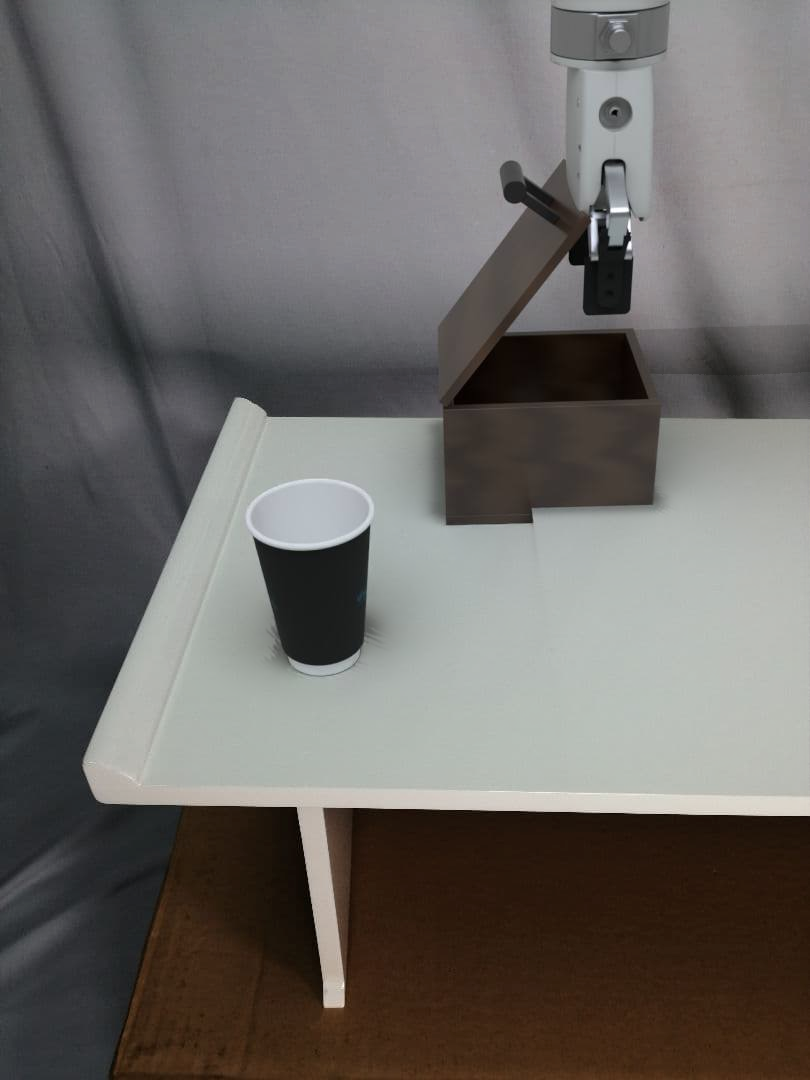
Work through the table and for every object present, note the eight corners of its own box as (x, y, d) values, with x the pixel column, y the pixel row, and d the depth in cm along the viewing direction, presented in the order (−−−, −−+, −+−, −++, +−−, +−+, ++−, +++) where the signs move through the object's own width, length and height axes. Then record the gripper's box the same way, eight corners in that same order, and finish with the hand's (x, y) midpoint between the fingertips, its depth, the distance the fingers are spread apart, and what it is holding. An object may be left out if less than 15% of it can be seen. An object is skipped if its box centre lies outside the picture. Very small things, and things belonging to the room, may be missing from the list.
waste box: (626, 435, 100) (633, 327, 95) (651, 519, 89) (661, 403, 84) (443, 440, 101) (440, 334, 96) (445, 525, 90) (442, 409, 84)
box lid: (570, 163, 88) (516, 123, 86) (592, 221, 77) (530, 177, 75) (444, 331, 96) (392, 297, 94) (446, 407, 84) (387, 370, 83)
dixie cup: (408, 656, 76) (401, 512, 70) (307, 709, 73) (291, 562, 67) (338, 602, 82) (326, 464, 76) (240, 648, 78) (219, 507, 72)
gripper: (692, 58, 68) (670, 333, 78) (646, 9, 83) (632, 245, 92) (563, 64, 69) (556, 337, 78) (539, 14, 83) (536, 249, 92)
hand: (597, 287), depth 85 cm, fingers open, 9 cm apart
